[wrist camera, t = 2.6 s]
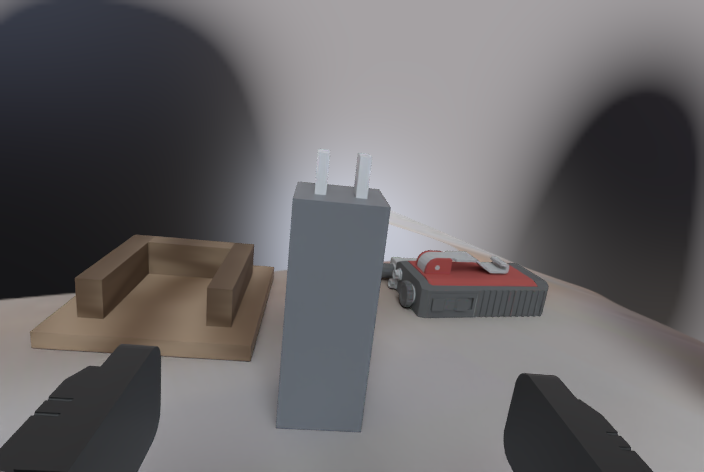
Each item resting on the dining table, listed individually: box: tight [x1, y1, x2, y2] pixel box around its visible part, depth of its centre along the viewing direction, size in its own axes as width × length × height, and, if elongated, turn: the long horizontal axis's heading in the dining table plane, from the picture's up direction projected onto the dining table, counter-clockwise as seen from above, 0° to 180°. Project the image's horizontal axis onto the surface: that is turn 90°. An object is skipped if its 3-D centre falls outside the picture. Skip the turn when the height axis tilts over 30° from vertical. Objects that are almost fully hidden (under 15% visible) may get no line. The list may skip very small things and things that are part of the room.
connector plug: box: [276, 149, 390, 432], centre depth 22 cm, size 4×4×13 cm
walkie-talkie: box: [381, 250, 549, 318], centre depth 39 cm, size 9×4×20 cm
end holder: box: [30, 235, 274, 361], centre depth 32 cm, size 12×13×4 cm
